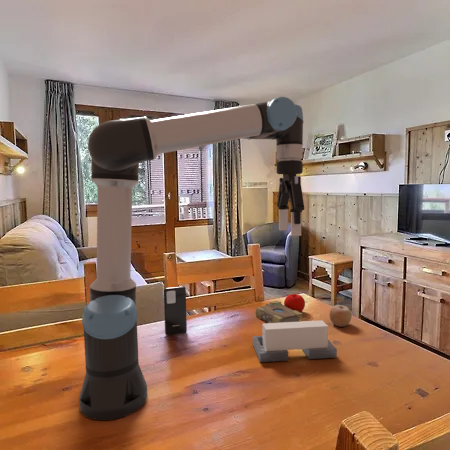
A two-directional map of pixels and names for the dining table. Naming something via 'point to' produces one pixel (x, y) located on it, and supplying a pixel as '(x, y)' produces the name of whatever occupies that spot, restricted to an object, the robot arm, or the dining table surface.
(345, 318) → the fruit
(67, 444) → the dining table surface
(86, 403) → the robot arm
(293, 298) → the apple
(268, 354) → the keyhole plates
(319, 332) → the bar
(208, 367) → the dining table surface
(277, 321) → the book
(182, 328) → the smartphone
